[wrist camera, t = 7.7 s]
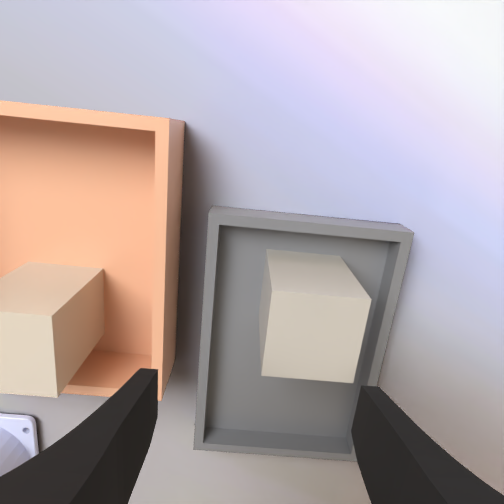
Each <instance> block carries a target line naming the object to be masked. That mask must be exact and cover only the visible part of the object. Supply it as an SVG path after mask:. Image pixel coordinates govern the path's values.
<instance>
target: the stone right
mask: <svg viewBox="0 0 504 504" xmlns="http://www.w3.org/2000/svg"><path fill="white" fill-rule="evenodd" d="M371 300H372V299H371V298H370V297H369V295H368V294H367V293H366V291H365V290H364V288H363V287H362V286H361V284H360V283H359V282H358V280H357V279H356V277H355V276H354V275H353V273H352V272H351V271H350V269H349V268H348V266H347V265H346V264H345V262H344V261H343V260H342V258H341V257H340V256H336V255H325V254H315V253H304V252H293V251H283V250H272V249H266V256H265V265H264V273H263V282H262V290H261V299H260V307H259V336H260V358H261V376H271V377H283V378H295V379H308V380H320V381H332V382H344V383H353V381H354V377H355V372H356V368H357V363H358V359H359V354H360V350H361V345H362V341H363V336H364V332H365V327H366V322H367V318H368V313H369V309H370V304H371Z"/></svg>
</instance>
